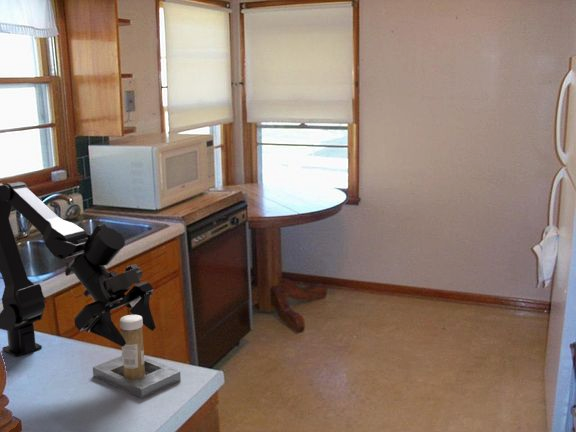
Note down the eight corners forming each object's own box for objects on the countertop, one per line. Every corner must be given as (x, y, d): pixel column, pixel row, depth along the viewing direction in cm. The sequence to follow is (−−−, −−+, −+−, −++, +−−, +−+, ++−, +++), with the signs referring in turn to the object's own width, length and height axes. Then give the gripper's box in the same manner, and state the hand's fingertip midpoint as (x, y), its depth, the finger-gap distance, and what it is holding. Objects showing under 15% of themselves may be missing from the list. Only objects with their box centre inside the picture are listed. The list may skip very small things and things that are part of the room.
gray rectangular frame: (93, 376, 127) (92, 367, 127) (131, 360, 135) (131, 351, 135) (141, 398, 118) (141, 389, 117) (180, 380, 126) (180, 371, 125)
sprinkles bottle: (150, 376, 127) (147, 316, 125) (134, 385, 123) (131, 323, 121) (133, 372, 129) (130, 312, 127) (118, 380, 125) (114, 319, 123)
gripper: (81, 266, 115) (129, 330, 112) (145, 245, 132) (188, 301, 129) (54, 299, 120) (99, 362, 117) (118, 275, 136) (160, 330, 134)
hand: (139, 337), depth 124 cm, fingers open, 9 cm apart
